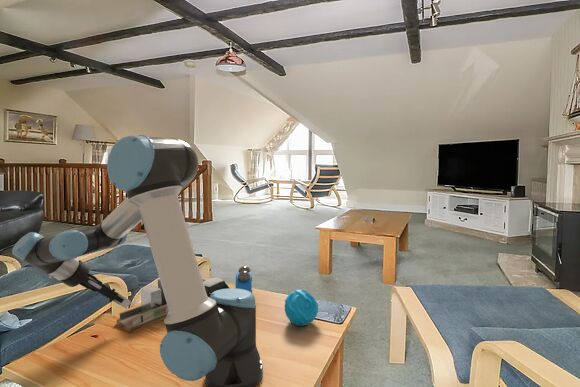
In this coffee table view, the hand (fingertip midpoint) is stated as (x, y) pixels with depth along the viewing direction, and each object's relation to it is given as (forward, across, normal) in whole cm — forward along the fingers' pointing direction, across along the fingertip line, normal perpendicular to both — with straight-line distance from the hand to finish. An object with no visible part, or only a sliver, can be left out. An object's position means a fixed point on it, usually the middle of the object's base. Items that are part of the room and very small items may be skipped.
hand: (127, 304), depth 114 cm
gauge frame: (+11, 0, 0) cm, 11 cm away
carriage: (+10, +1, +2) cm, 10 cm away
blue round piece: (+33, +46, +22) cm, 60 cm away
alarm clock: (+31, +20, +20) cm, 42 cm away
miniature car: (+28, +4, +16) cm, 32 cm away
